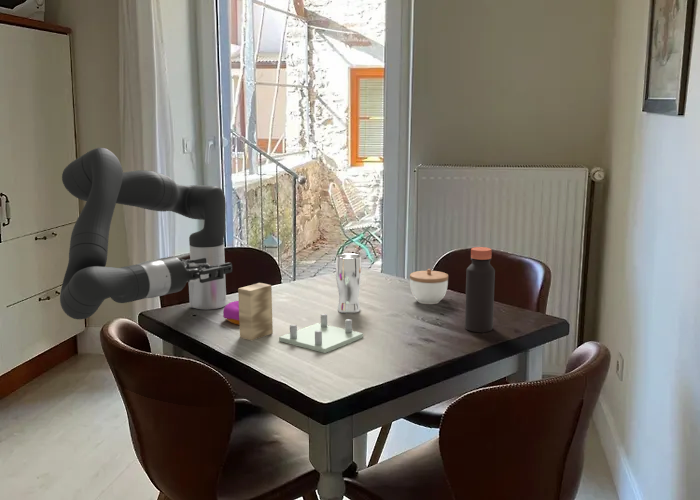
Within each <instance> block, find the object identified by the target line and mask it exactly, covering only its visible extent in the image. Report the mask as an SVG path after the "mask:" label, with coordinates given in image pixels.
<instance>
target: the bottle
mask: <svg viewBox="0 0 700 500" xmlns="http://www.w3.org/2000/svg"><path fill="white" fill-rule="evenodd" d="M470 248H471V249H470V260H471V264H469V265H468V267H467V268H466V270H465V271H466V273H465V274H466V276H465V277H466V278H465V307H464V308H465V311H464V312H465V314H464V327H465V329H466V330H467V331H469V332H472V333H488V332H490V331H492V330H493V328H494V309H495V304H494V303H495V283H496V282H495V280H496V277H495V276H496V269H495V268H494V267H493V266H492V264H491V261H492V251H493V249H492V248H490V247H485V246H483V247H482V246H477V247H470Z"/></svg>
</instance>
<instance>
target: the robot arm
mask: <svg viewBox="0 0 700 500" xmlns="http://www.w3.org/2000/svg"><path fill="white" fill-rule="evenodd" d="M61 180H62V183H63V186H64V188H65V189H66V190H67V192H68V193H70V195H72V196H73V197H75V198H77V199H78V200H81V201H83V202H85V204H84V205H83V208H82V210H81V211H80V214H79V216H78V217H77V219H76V221H75V223H74V226H73V228H72V231H71V235H70V241H69V251H68V264H67V267H66V270H65V272H64V273H65V274H64V277H63V281H62V284H61V288H60V292H59V302H60V306H61V308H62V310H63V312H64V313H65V315H67V316H68V317H69V318H71V319H74V320H85V319H87V318H90V317H91V316H93V315H94V314H95V313H96V312H97V310H98V309H99V308H100V307H101V305H102V303H103V302H104V301H105V300H106V299H111V300H112V301H113V302H115V303H118V304H127V303H131V302H135V301H140V300H145V299H155V298H158V297H161V296H166V295H170V294H173V293H178V292H181V291H182V290H183V289H184V288H185V287H186V284H187V283H188V294H189V295H188V297H189V308H193V309H197V310H206V311H207V310H216V309H221V308H225V306H226V305H227V288H226V286H227V285H226V275H227V274H230V273H233V263H232V262H226V261H225V260H226V259H225V235H226V212H227V211H226V209H227V207H226V206H227V205H226V203H227V202H226V195H225V193H224V191H223V189H222V188H221V187H219V186H216V185H200V184H199V185H198V184H195V185H194V184H192V185H185V184H177V183H176V182H175V180H174V179H172V178H171V177H170V176H169V175H166V174H164V173H159V172H156V171H152V170H147V169H145V170H144V169H143V170H141V169H140V170H131V171H124V170H123V167H122V164H121V161H120V160H119V158H118V157H117V155H115V153H114V152H112V151H111V150H109V149H107V148H106V147H105V148H104V147H97V148H92V149H91V150H89V151H87V152H85V153H84V154H82V155H81V156H79V157H77V158H76V159H75V160H73V161H71V162H69V163H68V165H67V166H65V168H64V169H63V171H62V173H61ZM116 204H119V205H124V206H128V207H129V206H130V207H137V208H141V209H144V210H148V211H154V212H173V213H176V214H178V215H181V216H183V217H185V218H188V219H191V220H200V221H201V220H202V221H204V222H203V223H204V225H203V228H202V229H200V230H199V231H195V232H193V233H190V235H189V238H188V239H189V240H188V242H189V257H190V258H187V259H184V258H178V257H177V256H166V257H161V258H156V259H152V260H146V261H142V262H140V263H137V264H132V265H127V266H121V267H112V266H106V265H107V261H108V253H109V252H108V251H109V250H108V249H109V236H110V228H111V225H112V218H113V216H114V212H115V208H116Z"/></svg>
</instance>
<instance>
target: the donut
mask: <svg viewBox="0 0 700 500" xmlns="http://www.w3.org/2000/svg"><path fill="white" fill-rule="evenodd" d="M222 312H223V315H222V317H223V318H224V319H226V320H227V321H228V322H230V323H232V324H235V325H239V326H240V324H239V300H235V301H231V302H229V303H226V306H224V307H223V311H222Z"/></svg>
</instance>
